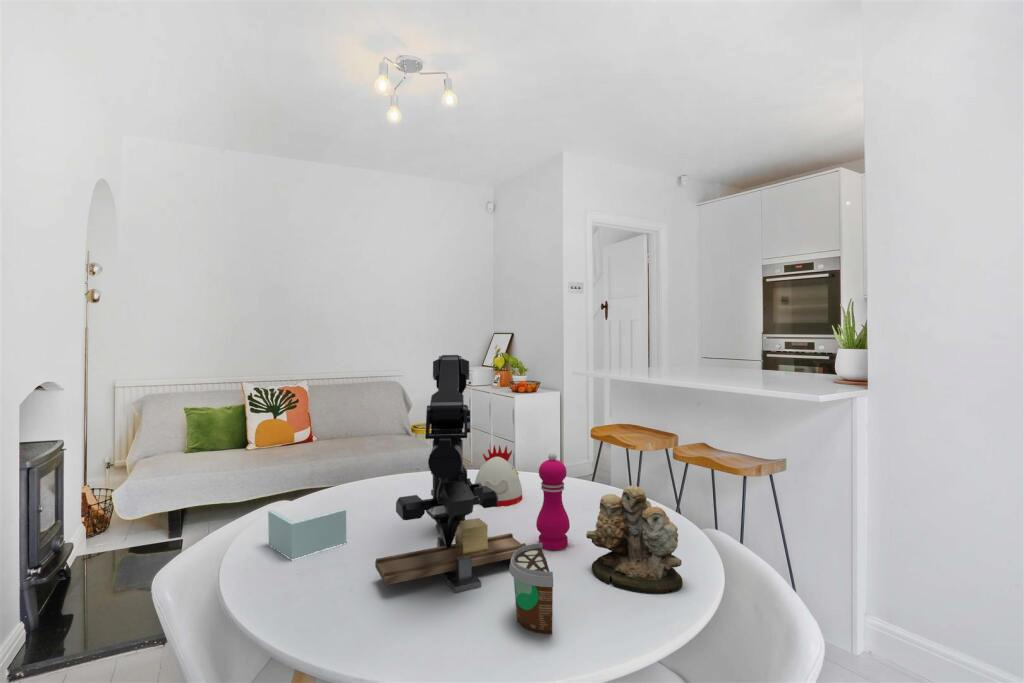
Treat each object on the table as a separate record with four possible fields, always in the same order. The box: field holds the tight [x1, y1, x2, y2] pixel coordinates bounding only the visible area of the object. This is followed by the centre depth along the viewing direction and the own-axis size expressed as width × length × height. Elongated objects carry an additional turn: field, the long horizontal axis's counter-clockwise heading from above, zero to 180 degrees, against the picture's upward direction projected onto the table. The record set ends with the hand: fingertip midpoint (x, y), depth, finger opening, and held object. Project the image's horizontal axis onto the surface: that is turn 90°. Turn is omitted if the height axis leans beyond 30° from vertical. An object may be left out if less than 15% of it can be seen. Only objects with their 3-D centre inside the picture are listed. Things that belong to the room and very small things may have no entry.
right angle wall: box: [267, 508, 347, 560], centre depth 117 cm, size 12×12×8 cm
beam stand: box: [436, 536, 511, 594], centre depth 105 cm, size 16×15×5 cm
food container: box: [508, 542, 554, 635], centre depth 86 cm, size 12×6×10 cm, turn 5°
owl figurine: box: [585, 485, 684, 595], centre depth 100 cm, size 18×12×17 cm, turn 63°
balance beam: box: [374, 532, 527, 586], centre depth 102 cm, size 28×8×2 cm, turn 117°
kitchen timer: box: [473, 444, 523, 508], centre depth 148 cm, size 14×14×15 cm
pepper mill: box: [535, 452, 571, 551], centre depth 116 cm, size 7×7×20 cm
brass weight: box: [454, 517, 489, 556], centre depth 104 cm, size 5×4×6 cm
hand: (448, 546), depth 102 cm, fingers closed
